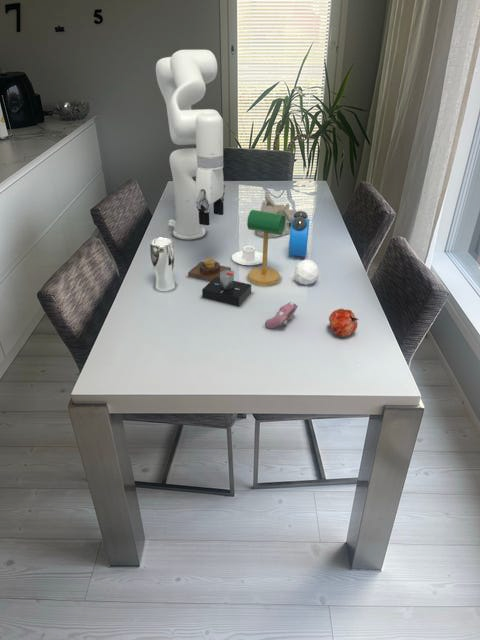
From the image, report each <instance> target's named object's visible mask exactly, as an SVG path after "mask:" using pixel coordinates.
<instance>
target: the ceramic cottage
mask: <svg viewBox="0 0 480 640" xmlns="http://www.w3.org/2000/svg"><path fill="white" fill-rule="evenodd" d="M264 192H265V193H264V200H263V201H262V204H261V207H260V211H264V212H270V213H276V214H282V215H285V218H286V222H285V228H284V231H283V233H282V235H276V234H271V233H268V239H269V238H270V239H271V238H278V237H283V236H284V235H285V236H286V235H287V234H290V230H291V222H292V218H295V217H294V214H295V213H296V212H297V210H296V209H290V203H288V202H287V203H286V204H285V205H284V204H283V203H282V204H275V202H274V200H273V199H272V197H271V196H270V193H269V190H265V191H264ZM255 235H257V236H258V237H260V238H264V232H260V231H255Z"/></svg>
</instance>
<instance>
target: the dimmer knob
mask: <svg viewBox="0 0 480 640" xmlns="http://www.w3.org/2000/svg"><path fill="white" fill-rule="evenodd" d="M234 281H235V273H234V271H232V270H231V271H230V270H224V271H222V272H220V287H221V289H224V290H230V289H232V288H233V287H234Z"/></svg>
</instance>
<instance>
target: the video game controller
mask: <svg viewBox="0 0 480 640" xmlns="http://www.w3.org/2000/svg"><path fill="white" fill-rule="evenodd" d="M298 307H299V306H298V304H296V303H295V302H292V301H290V302H288V303H286V304H284V305H282V306H280V308H279V309H278V312H277V313H276V315H274V316H273V317H271V318H269V319H267V320H265V322H264V326H265V328H267V329H275V328H278V327H282V325H287V323H288V321H289V320H290V319H291V316H292V315H293V314H294V313H295V312H296V311H297V309H298Z"/></svg>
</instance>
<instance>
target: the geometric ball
mask: <svg viewBox="0 0 480 640" xmlns="http://www.w3.org/2000/svg"><path fill="white" fill-rule="evenodd" d="M293 274H294V278H295V280H296V281H297V282H298V283H299V284H300V285H305V286H308V285H312V284H313V283H315V282H316V281H317V279H319V275H320V269H319V266H318V264H317V263H315V262H314V261H313V260H311V259H303V260H301V261H299V262H298V263H297V264H296V265H295V266H294V269H293Z"/></svg>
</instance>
